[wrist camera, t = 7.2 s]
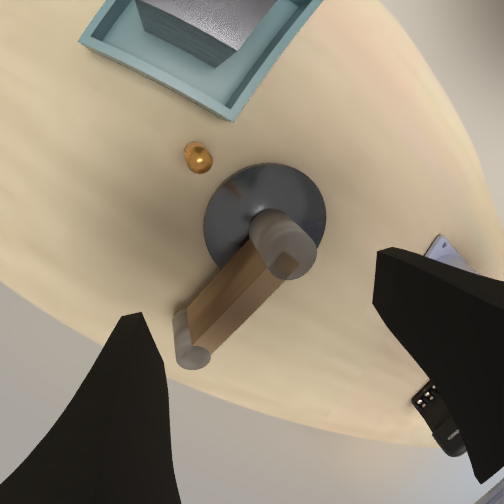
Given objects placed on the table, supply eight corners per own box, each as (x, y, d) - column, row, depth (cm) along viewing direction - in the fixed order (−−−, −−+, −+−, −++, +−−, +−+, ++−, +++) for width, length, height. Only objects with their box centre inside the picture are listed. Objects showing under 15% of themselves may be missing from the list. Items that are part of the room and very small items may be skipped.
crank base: (343, 203, 18) (371, 221, 16) (279, 294, 20) (296, 323, 17) (207, 112, 14) (216, 113, 11) (139, 231, 16) (134, 257, 13)
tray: (305, 8, 12) (326, -4, 10) (223, 119, 14) (233, 122, 12) (183, -62, 9) (186, -84, 7) (90, 50, 11) (77, 41, 9)
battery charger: (442, 364, 32) (493, 423, 22) (450, 369, 34) (497, 424, 24) (404, 402, 34) (448, 464, 24) (414, 404, 35) (456, 461, 26)
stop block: (260, 9, 12) (300, -26, 7) (215, 68, 13) (237, 50, 8) (192, -29, 10) (205, -77, 6) (144, 31, 11) (133, -3, 7)
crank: (270, 199, 16) (293, 222, 13) (300, 226, 17) (326, 252, 14) (162, 321, 18) (164, 359, 15) (194, 338, 19) (201, 375, 16)
